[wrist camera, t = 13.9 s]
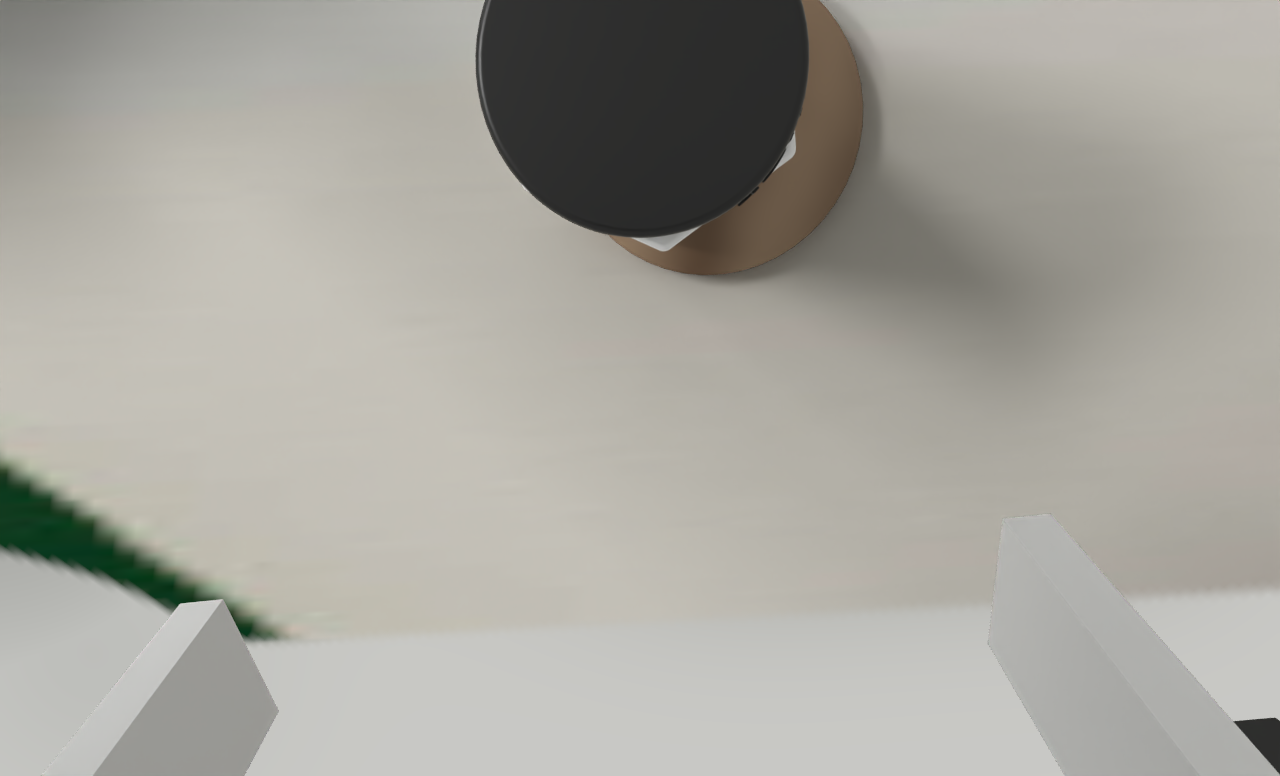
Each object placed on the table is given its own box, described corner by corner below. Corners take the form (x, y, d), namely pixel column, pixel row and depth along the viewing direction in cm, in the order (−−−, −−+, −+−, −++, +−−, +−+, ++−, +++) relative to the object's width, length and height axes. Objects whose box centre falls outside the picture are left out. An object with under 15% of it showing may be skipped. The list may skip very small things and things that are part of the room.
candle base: (583, 286, 31) (579, 288, 30) (547, -11, 29) (542, -20, 28) (863, 258, 30) (868, 259, 29) (851, -55, 28) (856, -66, 27)
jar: (775, 233, 29) (825, 235, 17) (580, 255, 30) (503, 272, 18) (758, -5, 27) (800, -180, 16) (550, 26, 28) (443, -116, 16)
